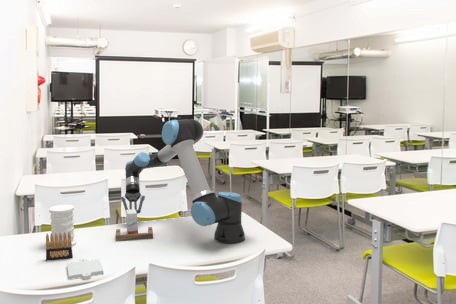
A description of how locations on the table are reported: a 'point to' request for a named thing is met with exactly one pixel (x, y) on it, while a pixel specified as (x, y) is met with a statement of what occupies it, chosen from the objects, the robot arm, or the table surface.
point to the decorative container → (62, 221)
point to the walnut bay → (134, 235)
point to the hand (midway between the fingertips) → (133, 224)
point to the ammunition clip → (58, 247)
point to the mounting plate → (84, 268)
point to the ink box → (131, 221)
